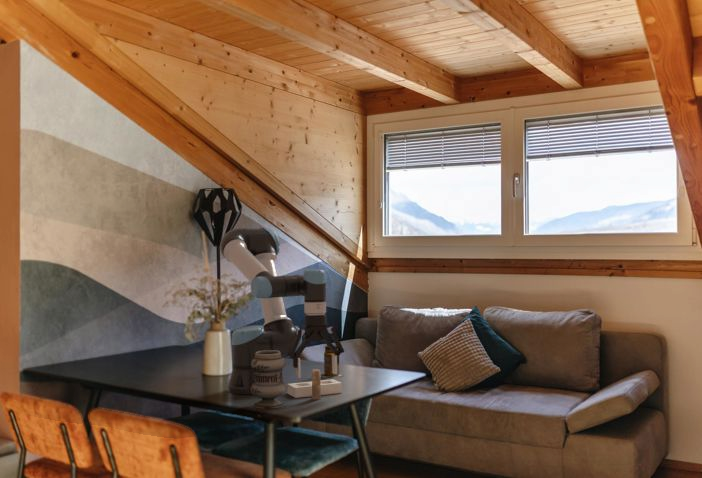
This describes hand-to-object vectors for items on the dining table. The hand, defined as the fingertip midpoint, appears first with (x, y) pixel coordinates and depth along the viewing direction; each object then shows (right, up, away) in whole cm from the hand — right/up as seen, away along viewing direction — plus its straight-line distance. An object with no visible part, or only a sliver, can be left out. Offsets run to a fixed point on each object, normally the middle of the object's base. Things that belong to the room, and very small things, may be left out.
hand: (316, 375), depth 248 cm
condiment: (+3, -9, +44) cm, 45 cm away
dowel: (0, -8, 0) cm, 8 cm away
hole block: (-1, -8, +10) cm, 13 cm away
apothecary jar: (-16, -9, -9) cm, 20 cm away
